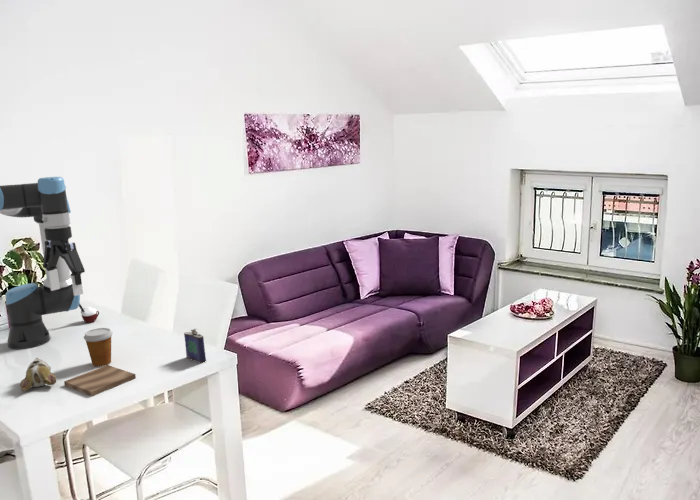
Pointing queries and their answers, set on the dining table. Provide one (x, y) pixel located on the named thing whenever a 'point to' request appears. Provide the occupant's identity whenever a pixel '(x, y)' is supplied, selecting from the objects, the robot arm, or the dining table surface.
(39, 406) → the dining table surface
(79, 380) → the walnut board
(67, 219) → the robot arm
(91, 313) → the cocoa
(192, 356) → the flask
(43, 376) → the ceramic sculpture
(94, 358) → the disposable coffee cup
